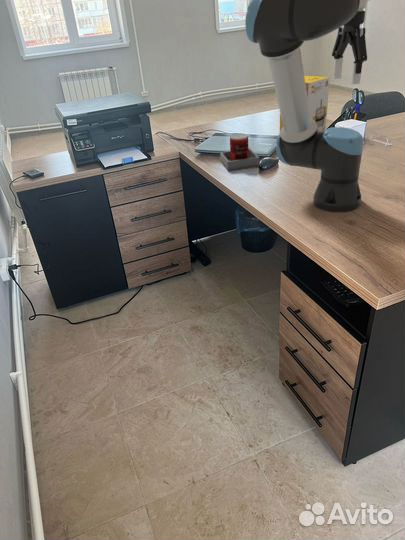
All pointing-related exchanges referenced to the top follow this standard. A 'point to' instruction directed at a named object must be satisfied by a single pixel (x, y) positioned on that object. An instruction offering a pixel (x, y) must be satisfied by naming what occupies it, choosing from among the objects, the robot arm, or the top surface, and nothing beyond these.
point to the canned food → (239, 146)
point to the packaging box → (316, 100)
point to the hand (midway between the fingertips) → (345, 81)
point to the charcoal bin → (239, 161)
